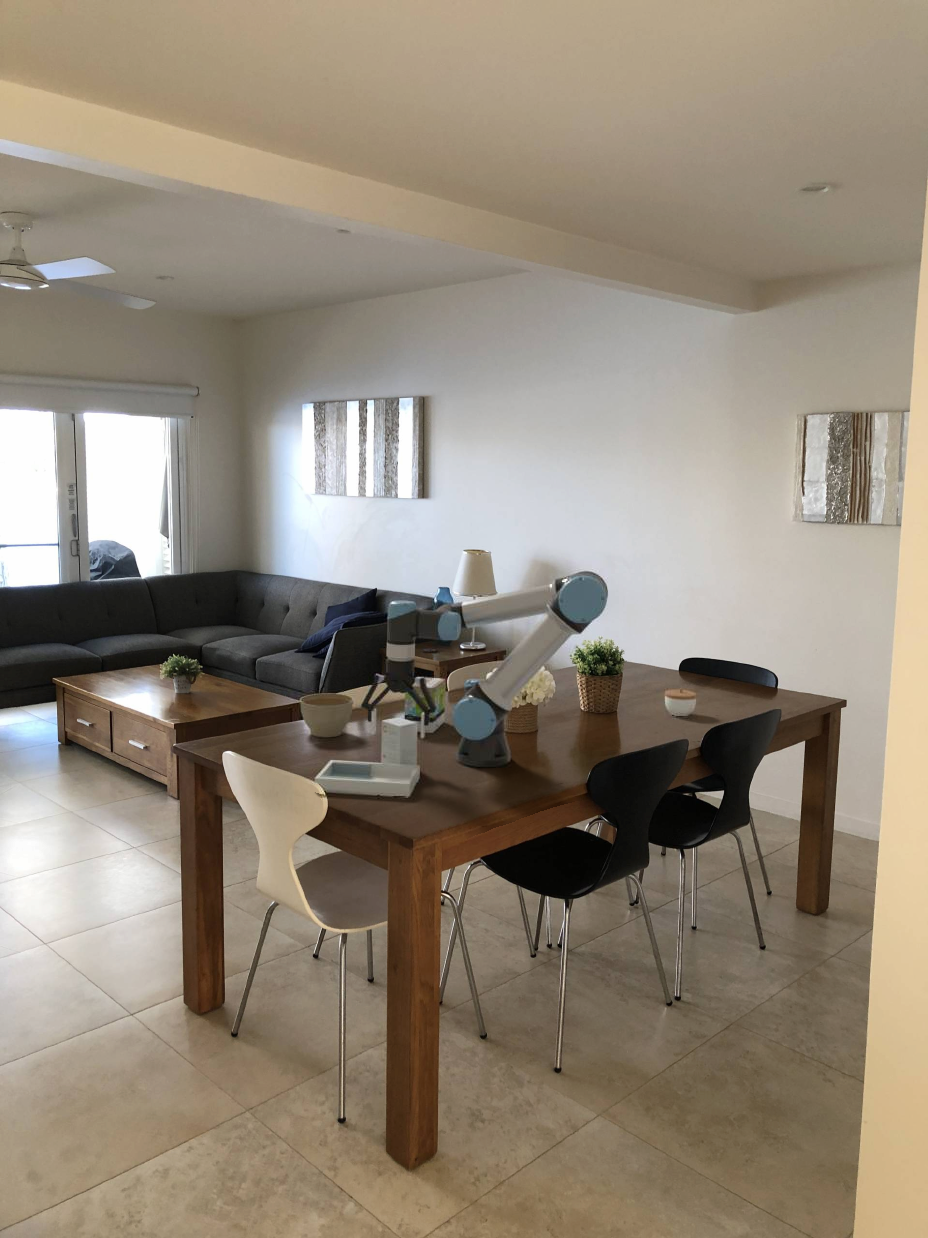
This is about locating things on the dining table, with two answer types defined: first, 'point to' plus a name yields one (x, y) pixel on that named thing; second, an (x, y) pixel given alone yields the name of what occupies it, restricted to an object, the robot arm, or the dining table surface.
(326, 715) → the planter bowl
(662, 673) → the dining table surface
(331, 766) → the tray
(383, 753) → the small box
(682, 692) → the lidded jar
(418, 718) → the tea box
